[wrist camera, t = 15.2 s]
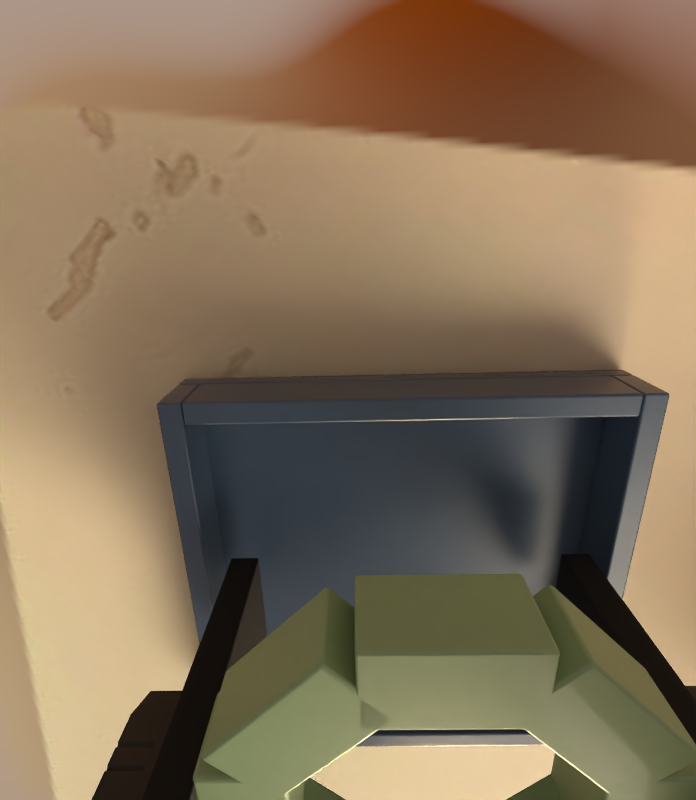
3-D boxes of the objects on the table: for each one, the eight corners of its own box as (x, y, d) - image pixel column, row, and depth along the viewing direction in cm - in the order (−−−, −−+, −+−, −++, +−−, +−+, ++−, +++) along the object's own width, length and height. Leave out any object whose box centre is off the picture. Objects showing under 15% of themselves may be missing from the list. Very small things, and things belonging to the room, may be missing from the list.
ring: (683, 570, 8) (762, 650, 6) (601, 858, 11) (641, 960, 9) (198, 575, 8) (161, 655, 6) (246, 858, 11) (229, 957, 9)
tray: (623, 369, 13) (671, 393, 11) (562, 688, 17) (589, 746, 15) (183, 378, 13) (155, 403, 11) (232, 691, 17) (217, 748, 15)
